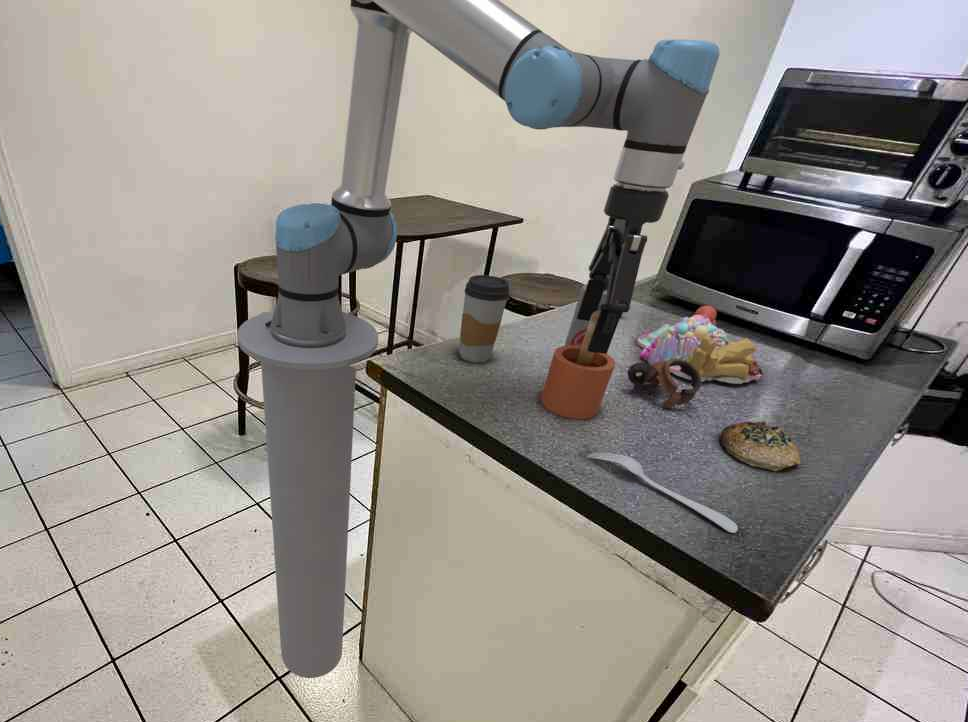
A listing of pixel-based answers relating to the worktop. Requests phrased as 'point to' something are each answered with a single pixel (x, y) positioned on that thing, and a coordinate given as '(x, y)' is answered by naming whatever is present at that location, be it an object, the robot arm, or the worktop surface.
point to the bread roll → (760, 445)
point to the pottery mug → (666, 379)
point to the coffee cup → (482, 316)
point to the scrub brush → (587, 342)
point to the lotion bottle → (580, 326)
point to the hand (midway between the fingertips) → (590, 334)
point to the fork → (638, 470)
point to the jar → (576, 383)
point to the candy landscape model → (701, 349)
